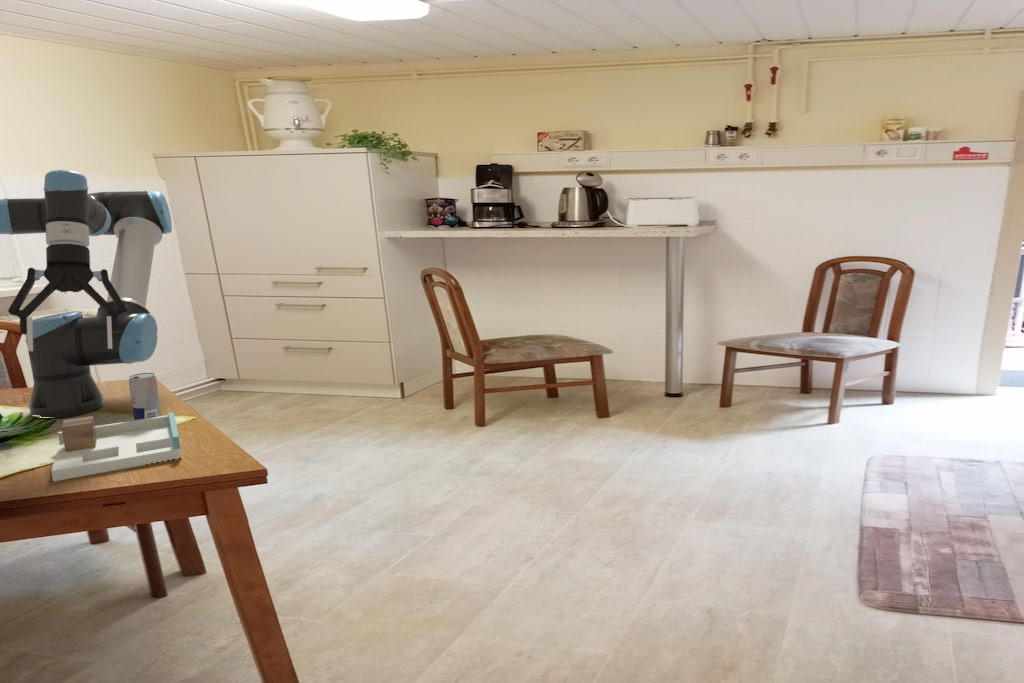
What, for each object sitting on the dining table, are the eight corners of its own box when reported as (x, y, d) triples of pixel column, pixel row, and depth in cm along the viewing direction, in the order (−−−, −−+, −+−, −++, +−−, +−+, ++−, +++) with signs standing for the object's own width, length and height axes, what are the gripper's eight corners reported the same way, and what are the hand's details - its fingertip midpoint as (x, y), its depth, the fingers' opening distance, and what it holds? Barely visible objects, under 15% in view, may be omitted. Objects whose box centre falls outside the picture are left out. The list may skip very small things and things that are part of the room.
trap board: (61, 450, 140) (57, 429, 139) (176, 431, 150) (173, 411, 149) (53, 481, 124) (48, 458, 124) (181, 458, 134) (178, 436, 133)
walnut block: (67, 444, 138) (63, 420, 137) (96, 439, 140) (92, 416, 139) (65, 452, 133) (61, 427, 132) (95, 447, 136) (91, 422, 135)
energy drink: (137, 426, 154) (130, 374, 152) (164, 423, 156) (157, 371, 153) (134, 433, 149) (126, 379, 147) (161, 430, 151) (154, 377, 148)
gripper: (-11, 239, 133) (-8, 349, 131) (137, 244, 145) (142, 345, 143) (-6, 248, 139) (-3, 353, 137) (136, 253, 152) (140, 349, 150)
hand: (71, 349), depth 140 cm, fingers open, 13 cm apart
